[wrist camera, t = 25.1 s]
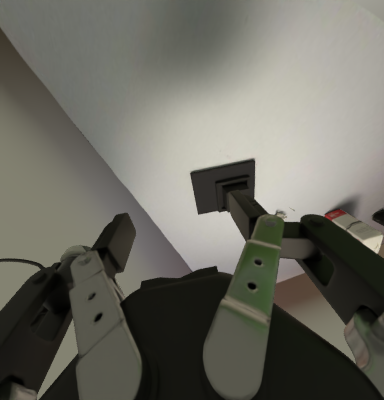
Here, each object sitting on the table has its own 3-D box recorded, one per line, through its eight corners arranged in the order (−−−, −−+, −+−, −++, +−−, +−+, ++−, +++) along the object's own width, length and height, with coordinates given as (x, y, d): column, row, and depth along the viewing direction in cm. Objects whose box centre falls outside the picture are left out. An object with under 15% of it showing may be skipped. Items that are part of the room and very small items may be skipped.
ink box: (323, 214, 49) (364, 240, 38) (339, 208, 48) (384, 232, 38) (323, 232, 53) (359, 260, 42) (338, 227, 52) (378, 254, 42)
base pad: (197, 212, 44) (198, 217, 41) (190, 173, 38) (191, 176, 36) (252, 201, 44) (256, 205, 41) (253, 160, 38) (257, 162, 36)
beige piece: (252, 231, 49) (256, 236, 47) (277, 201, 45) (282, 206, 42) (269, 237, 51) (274, 243, 49) (294, 210, 47) (300, 214, 44)
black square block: (223, 204, 42) (227, 212, 38) (221, 186, 39) (226, 193, 35) (243, 200, 42) (249, 207, 38) (242, 182, 39) (249, 188, 35)
